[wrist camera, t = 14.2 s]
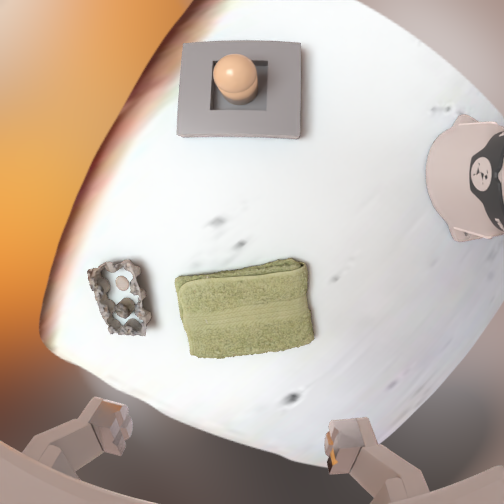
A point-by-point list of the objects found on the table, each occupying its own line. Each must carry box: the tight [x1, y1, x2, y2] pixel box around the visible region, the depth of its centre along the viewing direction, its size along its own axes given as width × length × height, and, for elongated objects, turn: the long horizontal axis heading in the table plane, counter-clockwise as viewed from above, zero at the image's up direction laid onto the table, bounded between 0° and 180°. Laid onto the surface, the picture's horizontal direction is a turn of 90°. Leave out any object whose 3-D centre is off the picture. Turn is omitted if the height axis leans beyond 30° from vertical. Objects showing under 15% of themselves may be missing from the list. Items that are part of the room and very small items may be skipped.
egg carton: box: [87, 260, 152, 336], centre depth 39 cm, size 11×8×4 cm
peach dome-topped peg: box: [213, 54, 258, 105], centre depth 28 cm, size 4×4×8 cm
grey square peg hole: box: [177, 41, 301, 139], centre depth 32 cm, size 14×12×3 cm
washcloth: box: [175, 258, 314, 359], centre depth 39 cm, size 13×18×3 cm
